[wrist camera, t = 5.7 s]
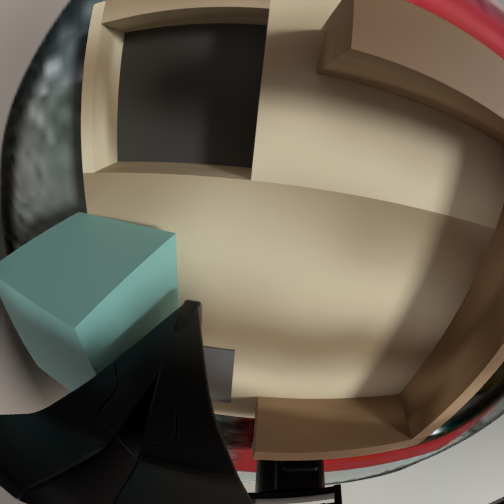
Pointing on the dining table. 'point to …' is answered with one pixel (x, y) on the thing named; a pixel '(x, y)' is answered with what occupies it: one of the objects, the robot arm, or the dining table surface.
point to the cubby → (488, 276)
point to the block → (88, 292)
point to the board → (285, 194)
